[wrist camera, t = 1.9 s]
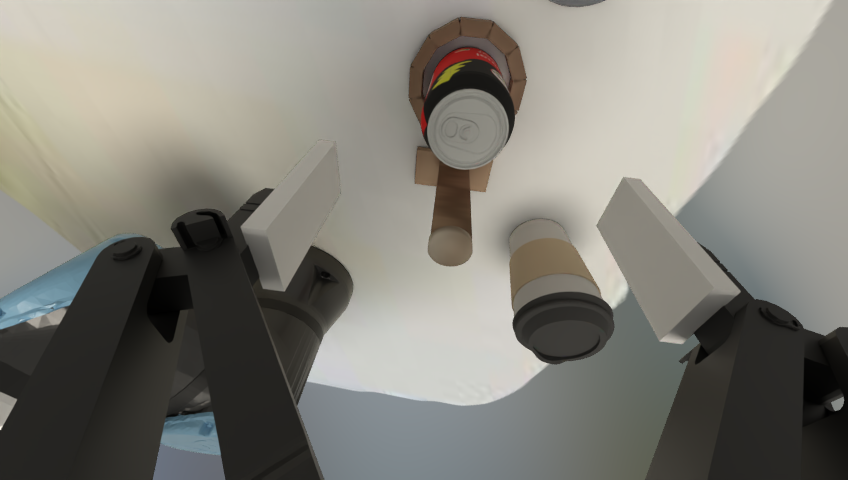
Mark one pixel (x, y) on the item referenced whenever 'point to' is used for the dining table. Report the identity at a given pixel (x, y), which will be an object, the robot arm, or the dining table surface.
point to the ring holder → (453, 185)
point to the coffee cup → (555, 295)
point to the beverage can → (467, 110)
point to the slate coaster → (576, 2)
